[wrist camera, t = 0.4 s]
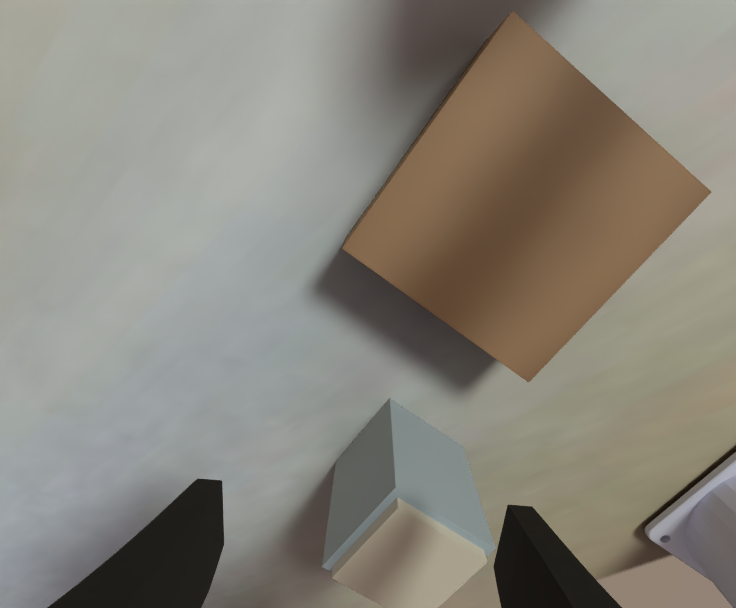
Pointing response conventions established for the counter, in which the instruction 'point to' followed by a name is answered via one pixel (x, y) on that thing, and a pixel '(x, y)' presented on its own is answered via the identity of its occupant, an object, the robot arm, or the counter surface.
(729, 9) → the counter surface
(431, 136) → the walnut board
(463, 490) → the blue block cream face
